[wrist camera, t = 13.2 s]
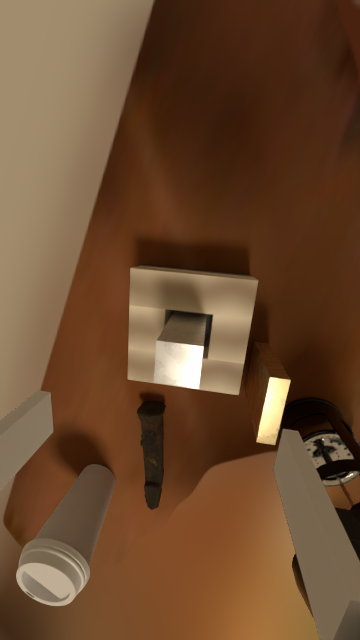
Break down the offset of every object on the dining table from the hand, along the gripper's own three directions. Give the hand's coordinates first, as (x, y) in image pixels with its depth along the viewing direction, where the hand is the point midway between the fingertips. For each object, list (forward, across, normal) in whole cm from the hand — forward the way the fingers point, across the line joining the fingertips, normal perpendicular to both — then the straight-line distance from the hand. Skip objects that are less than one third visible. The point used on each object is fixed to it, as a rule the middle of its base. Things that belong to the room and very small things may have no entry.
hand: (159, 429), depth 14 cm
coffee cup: (+22, +14, +32) cm, 41 cm away
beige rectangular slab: (+22, -10, +6) cm, 25 cm away
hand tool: (+22, +3, +23) cm, 32 cm away
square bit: (+20, 0, 0) cm, 20 cm away
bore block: (+22, 0, 0) cm, 22 cm away
